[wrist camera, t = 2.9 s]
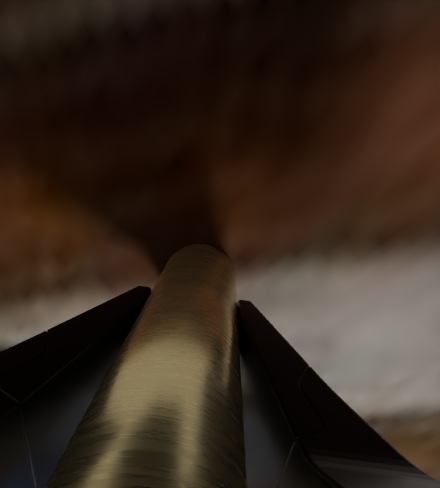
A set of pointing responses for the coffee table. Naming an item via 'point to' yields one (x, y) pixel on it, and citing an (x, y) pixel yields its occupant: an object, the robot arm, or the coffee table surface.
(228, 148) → the coffee table surface
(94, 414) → the link pin
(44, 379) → the robot arm
